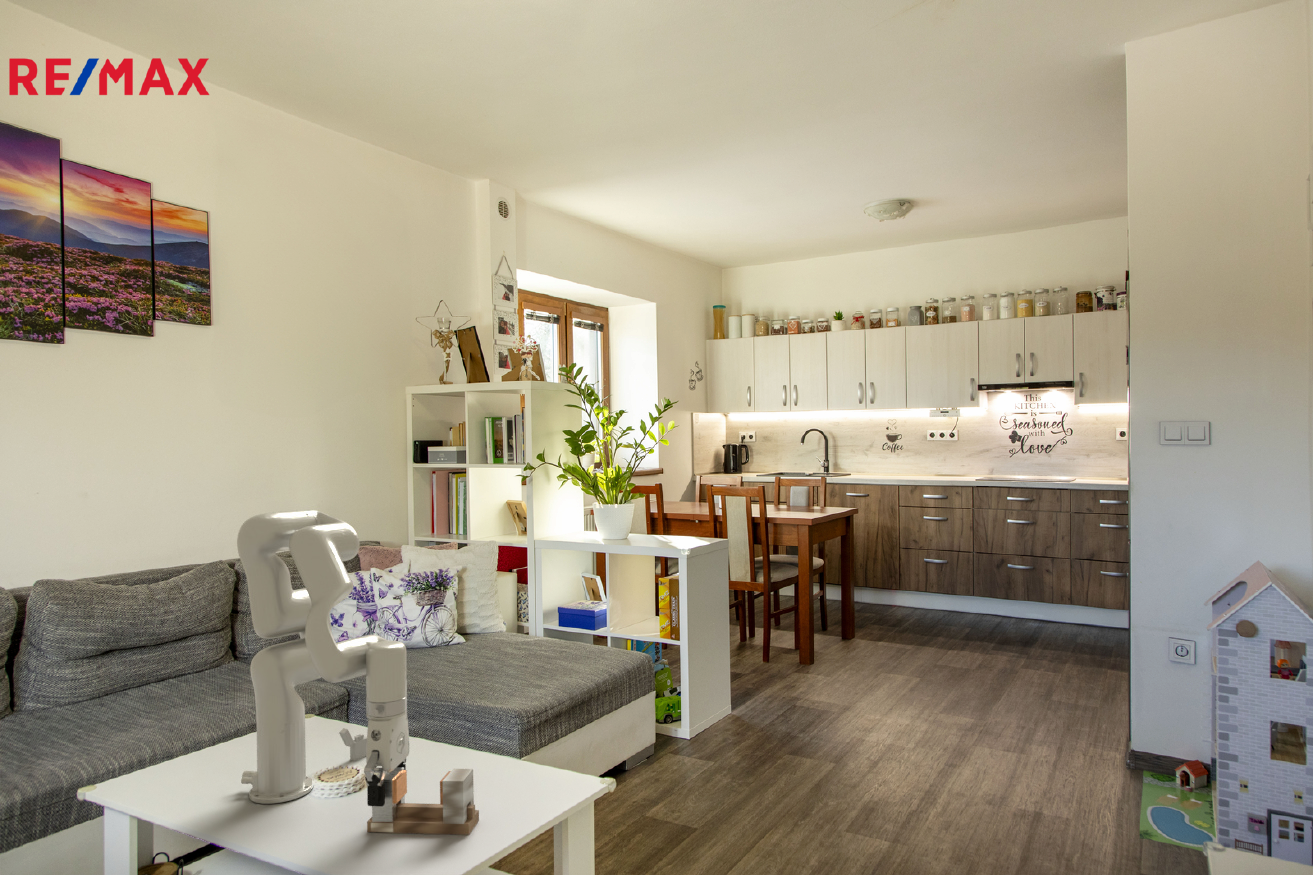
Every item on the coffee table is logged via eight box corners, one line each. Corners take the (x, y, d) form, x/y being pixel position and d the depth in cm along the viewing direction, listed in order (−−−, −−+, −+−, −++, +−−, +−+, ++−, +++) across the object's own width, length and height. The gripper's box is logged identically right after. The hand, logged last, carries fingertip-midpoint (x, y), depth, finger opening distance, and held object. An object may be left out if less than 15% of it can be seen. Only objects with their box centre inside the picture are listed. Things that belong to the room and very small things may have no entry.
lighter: (363, 754, 198) (363, 720, 199) (368, 755, 198) (368, 721, 198) (339, 764, 192) (338, 729, 193) (344, 765, 192) (343, 730, 192)
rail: (366, 832, 157) (366, 779, 157) (380, 818, 163) (380, 767, 163) (468, 835, 155) (467, 781, 155) (479, 820, 161) (478, 769, 161)
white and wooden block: (372, 821, 157) (371, 779, 157) (385, 808, 163) (384, 767, 163) (396, 822, 157) (395, 779, 157) (408, 808, 163) (407, 767, 163)
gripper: (386, 722, 151) (386, 815, 151) (422, 693, 169) (422, 777, 168) (347, 721, 152) (347, 813, 152) (387, 692, 169) (387, 776, 169)
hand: (387, 794), depth 160 cm, fingers open, 9 cm apart
